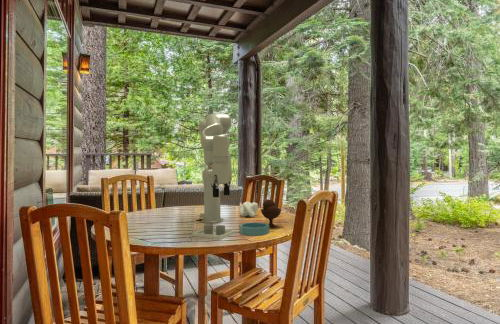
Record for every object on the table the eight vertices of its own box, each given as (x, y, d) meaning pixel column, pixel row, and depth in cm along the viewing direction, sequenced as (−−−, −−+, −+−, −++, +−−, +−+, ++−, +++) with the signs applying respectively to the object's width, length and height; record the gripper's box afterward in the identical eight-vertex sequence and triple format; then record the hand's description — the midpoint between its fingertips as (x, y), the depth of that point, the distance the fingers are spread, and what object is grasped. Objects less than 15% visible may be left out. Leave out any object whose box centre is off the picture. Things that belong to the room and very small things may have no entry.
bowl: (235, 234, 175) (234, 226, 175) (248, 229, 188) (248, 221, 188) (260, 237, 169) (260, 229, 169) (272, 231, 181) (272, 223, 181)
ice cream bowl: (280, 229, 187) (279, 200, 187) (259, 228, 190) (258, 200, 189) (282, 225, 198) (282, 198, 197) (262, 224, 200) (262, 197, 200)
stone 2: (214, 235, 171) (214, 226, 171) (219, 234, 175) (219, 224, 175) (222, 236, 169) (221, 227, 169) (226, 234, 173) (226, 225, 173)
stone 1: (202, 234, 174) (202, 225, 174) (207, 232, 178) (207, 223, 178) (209, 235, 172) (209, 226, 172) (214, 233, 176) (214, 224, 176)
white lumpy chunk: (253, 214, 236) (253, 200, 236) (262, 216, 225) (262, 202, 225) (238, 215, 231) (237, 201, 230) (246, 218, 220) (246, 204, 220)
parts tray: (192, 237, 171) (192, 233, 171) (209, 231, 184) (209, 227, 184) (220, 240, 164) (220, 236, 164) (236, 234, 176) (236, 230, 176)
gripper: (223, 160, 182) (224, 194, 182) (204, 160, 166) (204, 197, 166) (236, 160, 178) (237, 194, 178) (217, 160, 163) (218, 198, 163)
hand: (221, 196), depth 172 cm, fingers open, 9 cm apart
